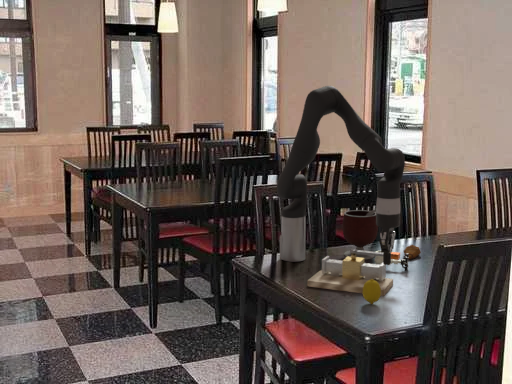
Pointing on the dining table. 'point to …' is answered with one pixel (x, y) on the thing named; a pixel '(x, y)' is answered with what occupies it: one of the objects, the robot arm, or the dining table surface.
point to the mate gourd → (360, 230)
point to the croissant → (412, 251)
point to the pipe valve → (353, 268)
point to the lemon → (371, 291)
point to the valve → (393, 261)
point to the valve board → (345, 283)
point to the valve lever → (375, 253)
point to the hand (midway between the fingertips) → (387, 264)
